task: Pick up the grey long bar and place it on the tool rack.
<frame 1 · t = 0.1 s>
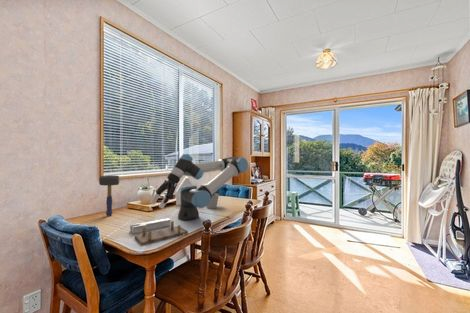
hand: (156, 205, 130), 15 cm above the table, tool tilted 35°, fingers open, 13 cm apart
rubber mallet: (109, 215, 161), on the table
tool rack: (162, 236, 122), on the table
milk carton: (186, 203, 205), on the table
potted plant: (211, 207, 190), on the table
grey long bar: (153, 228, 135), on the table
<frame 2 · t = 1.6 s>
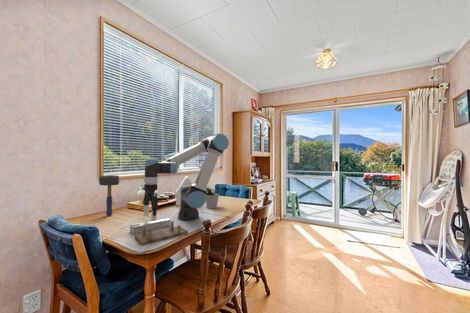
hand: (149, 218, 133), 7 cm above the table, tool pointing down, fingers open, 13 cm apart
nothing on the table moved.
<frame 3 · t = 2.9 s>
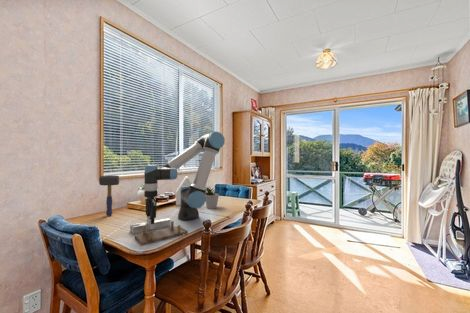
hand: (150, 227, 134), 1 cm above the table, tool pointing down, fingers closed on grey long bar, 4 cm apart
grey long bar: (153, 228, 135), on the table, touching gripper
everything else where it was.
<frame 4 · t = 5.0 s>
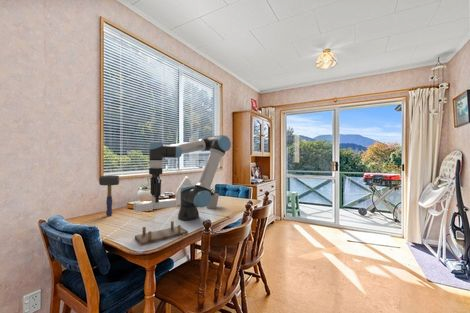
hand: (155, 207, 128), 15 cm above the table, tool pointing down, fingers closed on grey long bar, 4 cm apart
grey long bar: (158, 207, 129), point 14 cm above the table, touching gripper
everything else where it was.
when the fingers open (4 cm above the table, at t = 7.2 s): grey long bar drops 1 cm, resting on tool rack.
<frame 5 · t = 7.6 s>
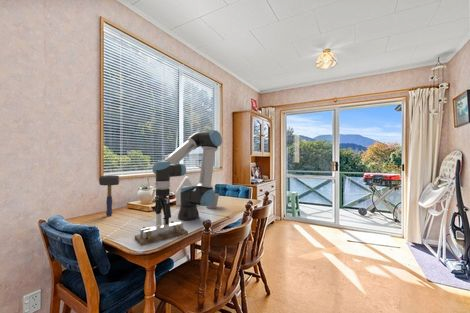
hand: (162, 227, 122), 5 cm above the table, tool pointing down, fingers open, 10 cm apart
grey long bar: (165, 232, 123), point 1 cm above the table, touching tool rack
everything else where it was.
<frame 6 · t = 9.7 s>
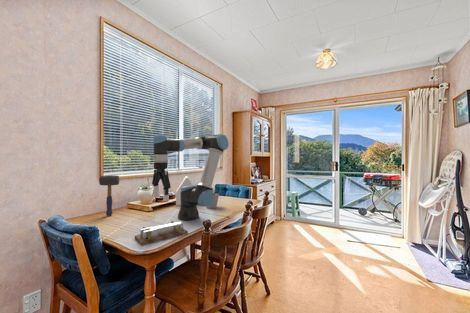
hand: (160, 198, 125), 20 cm above the table, tool pointing down, fingers open, 13 cm apart
nothing on the table moved.
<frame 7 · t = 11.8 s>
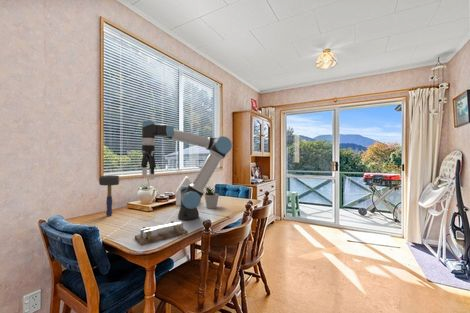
hand: (148, 178, 138), 31 cm above the table, tool pointing down, fingers open, 13 cm apart
nothing on the table moved.
at the end: grey long bar 0.0 cm from the target spot on the tool rack, point 1.5 cm above the tool rack's base; grey long bar tilted 0°; the gripper is holding nothing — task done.
